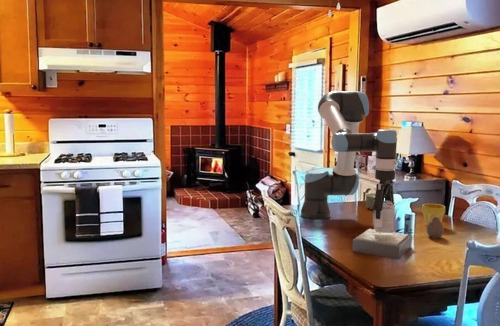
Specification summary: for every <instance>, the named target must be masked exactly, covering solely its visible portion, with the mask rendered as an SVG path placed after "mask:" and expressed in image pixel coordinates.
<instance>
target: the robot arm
mask: <svg viewBox="0 0 500 326" xmlns="http://www.w3.org/2000/svg"><path fill="white" fill-rule="evenodd" d="M369 103H370V102H369V98H368V95H367V94H366V93H365V92H364V91H357V90H353V91H352V90H351V91H350V90H345V91H344V90H341V91H339V90H334V91H329V92H326V94H324V95H322V97H320V100H319V101H318V105H317V111H318V114H319V115H320V117H321V119H324V121H325V123H326V125H327V126H328V129H329V130H330V133H331V148H332V150H333V151H334V152H337V158H336V164H335V166H334V167H333V168H332V172H329V170H328V169H314V170H310V171H307V172H306V173H305V175H304V200H303V204H302V206H301V209H300V217H302V218H306V219H312V220H313V219H314V220H316V219H317V220H321V219H322V220H325V219H329V218H330V217H331V209H330V205H329V202H328V198H329V197H328V196H345V197H346V196H347V197H348V196H354V194H356V193H357V191H358V189H359V184H360V177H359V174H358V172H357V170H356V169H355V167H354V166H355V160H356V159H355V158H356V152H359V153H360V152H361V153H364V152H365V153H367V152H368V153H373V152H375V165H374V166H375V175H374V176H375V177H374V178H375V179H376V180H378V181H379V183H376V187H375V189H376V190H375V193H374V194H375V200H374V206H373V209H372V210H373V211H374V210H375V226H374V227H381V228H382V215H383V211H382V207H383V203H384V198H385V201H391V202H392V203H393V204H394V205H395V197H394V186H393V185H394V184H393V183H394V181H395V180H396V170H395V169H396V165H397V164H398V161H397V143H398V136H397V135H398V133H397V131H396V130H395V129H378V130H377V132H370V133H368V132H365V133H364V132H362V133H360V132H359V128H360V124H361V123H362V122H364V117H367V116H368V115H369V111H370V104H369ZM374 227H373V228H374Z"/></svg>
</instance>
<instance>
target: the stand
mask: <svg viewBox="0 0 500 326" xmlns="http://www.w3.org/2000/svg"><path fill="white" fill-rule="evenodd" d="M411 247H412V235H409V234H407V233H403V232H402V233H401V232H395V231H393V233H380V232H376V231H375V229H374V228H373V229H372V228H368V229H366V230H365V231H364V232H362V233H360V234H359V235H357V236H356V237H355V238H353V239H352V252H355V253H360V254H361V253H362V254H366V255H372V256H378V257H384V258H390V259H396V260H399V259H401V257H403V256H404V255H405V254H406V253H407V252H408V251H409V250H410V249H411Z"/></svg>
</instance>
